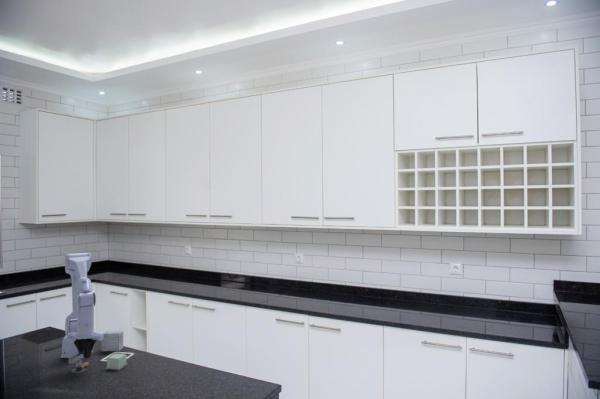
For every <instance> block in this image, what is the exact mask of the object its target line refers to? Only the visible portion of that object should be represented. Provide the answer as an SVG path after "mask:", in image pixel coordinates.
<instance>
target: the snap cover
mask: <svg viewBox="0 0 600 399" xmlns="http://www.w3.org/2000/svg"><path fill="white" fill-rule="evenodd" d="M126 357H127V354H118V353H115V354H113V355H112V356H110V357H108V358H107V359H106V360H107V362H106V368H108V369H107V370H111V369H120V368H121V367H123V366H124V365H126V364H127V359H126ZM126 366H127V365H126ZM124 367H125V366H124ZM124 367H123V368H124ZM121 369H122V368H121ZM121 369H120V370H121Z"/></svg>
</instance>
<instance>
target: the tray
mask: <svg viewBox="0 0 600 399" xmlns="http://www.w3.org/2000/svg"><path fill="white" fill-rule="evenodd" d="M114 354H125V355H128V356H126V360H128V359H129V358H131V357H132V356H134V355H136V354H135V352H124V351H123V352H122V351H112V353H109V355H107V356H105V357H104V358H102V359H100V360H99V362H104V363H107V359H108V358H109V357H111V356H112V355H114Z"/></svg>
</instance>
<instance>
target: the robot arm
mask: <svg viewBox="0 0 600 399" xmlns="http://www.w3.org/2000/svg"><path fill="white" fill-rule="evenodd" d="M92 257H93V256H92V253H91V252H90V251H89V252H77V253H66V254H65V255H64V269H65V270H64V271H65V273H66V274H68V275H70V278H71V294H72V295H71V298H72V299H71V300H72V302H71V303H72V311H71V313H69V315H67V316H66V318H65V323H64V333H65V336H64V337H63V339H62V342H61V343H62V344H61V349H62V350H61V355H60V358H61V359H69V358H71V357H73V356H75V355H77V354H79V353H81V352H82V351H84V350H85V357H84V359H89V358H91V354H92V353H93V348H94V346H95V344H96V342H97V341H99V342H102V340H103V339H104V334H103V333H98V332H94V330H95V326H94V324H95V322H94V321H95V307H96V301H97V297H96V296H97V295H96V291H95V290H94V289H93V285H92V280H91V279H90V278H88V272H89V270H90V268H91V267H92V263H93V262H92Z"/></svg>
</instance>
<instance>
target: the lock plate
mask: <svg viewBox="0 0 600 399" xmlns="http://www.w3.org/2000/svg"><path fill="white" fill-rule="evenodd" d="M127 365H128V363H126V365H124V366H123V367H121V368H120V369H110V370H114V371H120V370H121V369H124V368H125V367H126V366H127ZM105 370H109V369H108V368H107V367H105ZM85 371H87V367H83V368H82V369H81V370H78V371H76V368H73V369H72V370H71V373H72V374H80V373H83V372H85Z"/></svg>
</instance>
